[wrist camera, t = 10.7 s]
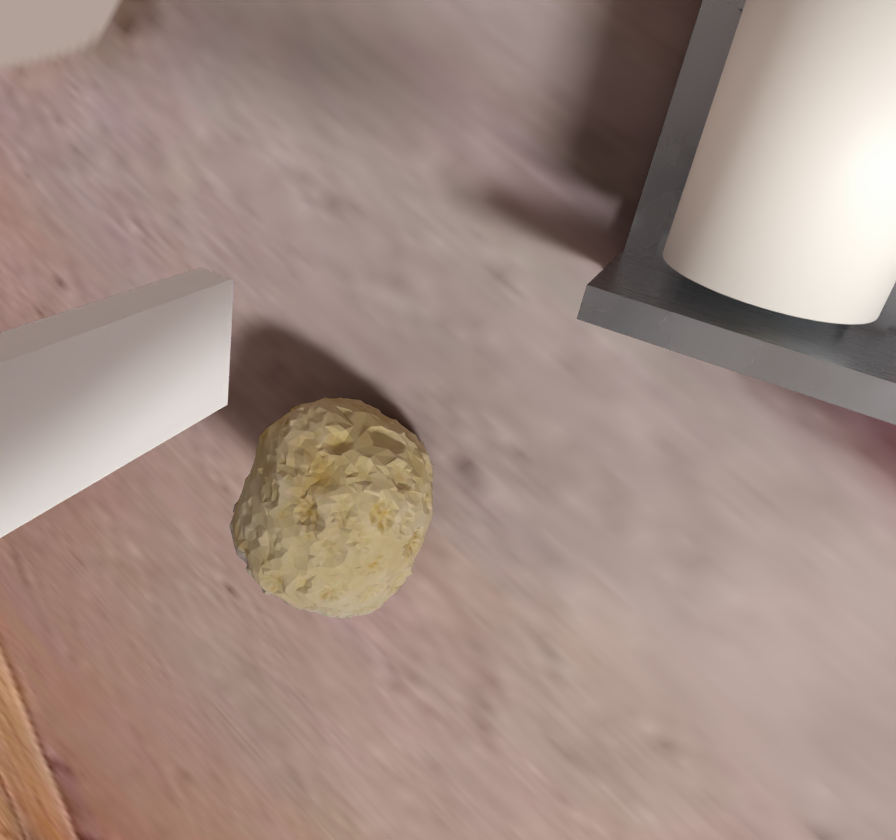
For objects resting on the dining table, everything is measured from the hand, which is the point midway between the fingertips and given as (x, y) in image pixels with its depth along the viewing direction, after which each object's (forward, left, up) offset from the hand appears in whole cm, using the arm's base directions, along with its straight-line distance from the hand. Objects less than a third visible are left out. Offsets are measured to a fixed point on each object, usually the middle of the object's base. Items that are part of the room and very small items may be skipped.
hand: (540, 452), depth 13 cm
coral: (-11, -15, -20) cm, 27 cm away
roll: (+3, +5, -16) cm, 17 cm away
